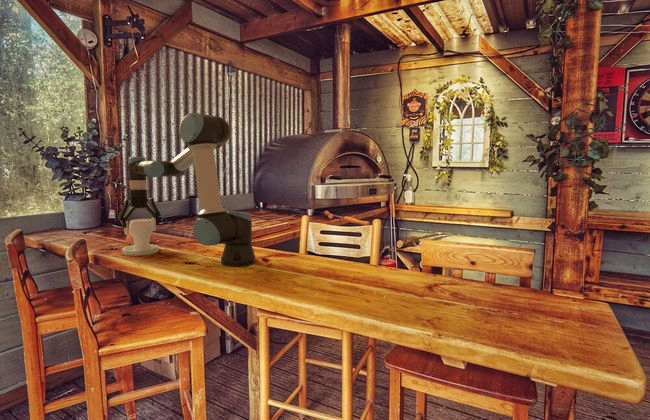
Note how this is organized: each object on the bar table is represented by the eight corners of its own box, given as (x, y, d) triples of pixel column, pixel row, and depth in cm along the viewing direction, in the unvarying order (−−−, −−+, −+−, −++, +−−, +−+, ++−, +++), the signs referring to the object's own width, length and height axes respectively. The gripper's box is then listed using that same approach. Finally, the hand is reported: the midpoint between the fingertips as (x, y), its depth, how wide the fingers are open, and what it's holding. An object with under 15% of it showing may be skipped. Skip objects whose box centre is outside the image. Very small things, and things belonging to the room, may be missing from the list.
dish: (165, 251, 194) (164, 247, 193) (132, 257, 181) (132, 252, 181) (148, 246, 203) (147, 242, 203) (116, 252, 191) (116, 247, 190)
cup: (158, 248, 197) (157, 219, 196) (146, 253, 187) (145, 222, 185) (138, 247, 198) (136, 218, 196) (125, 252, 188) (124, 221, 186)
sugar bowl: (134, 241, 216) (133, 223, 215) (159, 242, 215) (158, 224, 214) (121, 246, 204) (120, 227, 202) (148, 247, 203) (147, 227, 202)
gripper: (158, 187, 201) (160, 228, 203) (107, 189, 181) (110, 235, 183) (166, 188, 196) (168, 230, 198) (115, 190, 176) (118, 237, 179)
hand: (140, 232), depth 191 cm, fingers open, 13 cm apart
